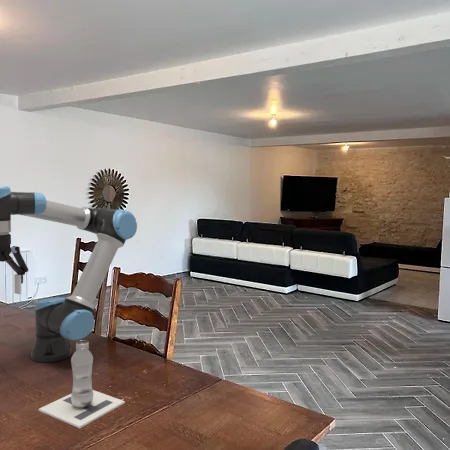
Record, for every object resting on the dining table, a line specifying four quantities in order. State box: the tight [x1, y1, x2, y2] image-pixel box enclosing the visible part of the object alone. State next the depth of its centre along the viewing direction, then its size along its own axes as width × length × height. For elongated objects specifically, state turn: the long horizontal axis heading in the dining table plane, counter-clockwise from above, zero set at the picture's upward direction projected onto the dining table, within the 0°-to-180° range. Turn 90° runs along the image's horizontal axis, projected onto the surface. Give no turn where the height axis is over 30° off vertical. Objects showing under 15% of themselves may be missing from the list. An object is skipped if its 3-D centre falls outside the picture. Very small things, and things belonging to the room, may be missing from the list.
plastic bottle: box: [70, 339, 94, 408], centre depth 136 cm, size 6×7×20 cm
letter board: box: [38, 389, 126, 430], centre depth 137 cm, size 18×18×1 cm
